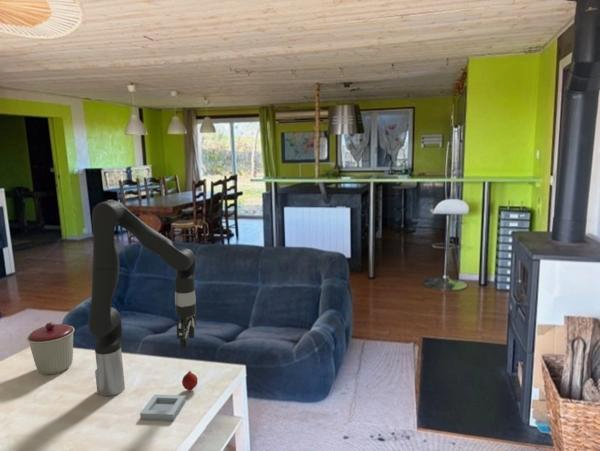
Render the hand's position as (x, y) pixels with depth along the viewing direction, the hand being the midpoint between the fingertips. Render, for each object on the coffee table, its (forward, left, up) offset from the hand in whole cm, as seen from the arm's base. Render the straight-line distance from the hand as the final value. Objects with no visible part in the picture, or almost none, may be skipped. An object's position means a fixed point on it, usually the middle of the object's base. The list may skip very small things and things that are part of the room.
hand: (187, 342), depth 173 cm
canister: (-65, +13, -20) cm, 70 cm away
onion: (0, 0, -20) cm, 20 cm away
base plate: (-5, -14, -20) cm, 25 cm away
